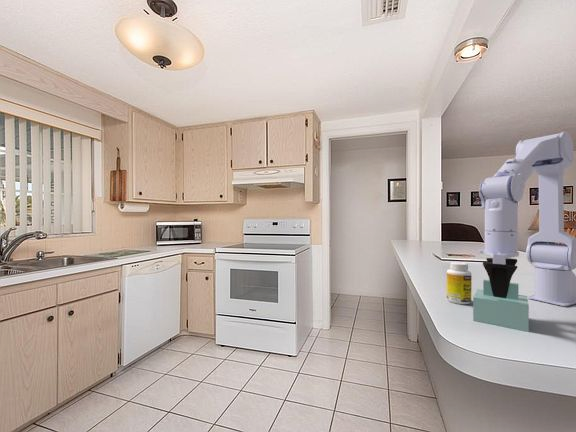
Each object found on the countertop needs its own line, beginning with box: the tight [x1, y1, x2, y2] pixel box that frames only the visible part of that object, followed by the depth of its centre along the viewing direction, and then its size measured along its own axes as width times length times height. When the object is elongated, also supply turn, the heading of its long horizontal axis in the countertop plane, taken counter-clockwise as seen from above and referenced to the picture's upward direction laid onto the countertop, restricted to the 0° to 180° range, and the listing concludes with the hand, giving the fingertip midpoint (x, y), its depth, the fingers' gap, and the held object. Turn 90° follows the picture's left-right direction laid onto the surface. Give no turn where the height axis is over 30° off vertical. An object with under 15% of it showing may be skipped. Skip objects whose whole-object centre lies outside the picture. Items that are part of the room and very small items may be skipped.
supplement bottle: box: [446, 261, 473, 305], centre depth 73 cm, size 6×6×10 cm
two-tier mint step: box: [472, 279, 530, 332], centre depth 60 cm, size 9×9×8 cm
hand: (500, 293), depth 60 cm, fingers open, 7 cm apart
